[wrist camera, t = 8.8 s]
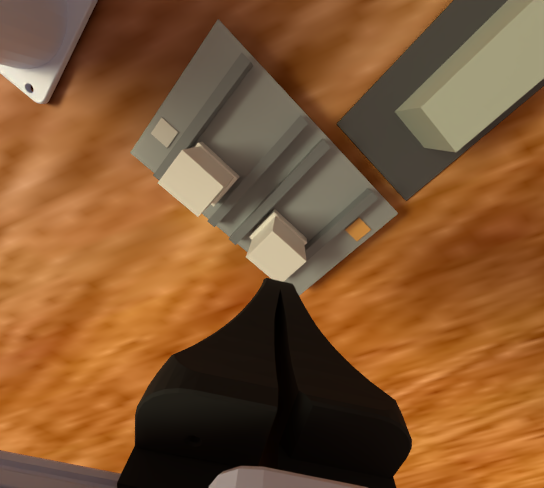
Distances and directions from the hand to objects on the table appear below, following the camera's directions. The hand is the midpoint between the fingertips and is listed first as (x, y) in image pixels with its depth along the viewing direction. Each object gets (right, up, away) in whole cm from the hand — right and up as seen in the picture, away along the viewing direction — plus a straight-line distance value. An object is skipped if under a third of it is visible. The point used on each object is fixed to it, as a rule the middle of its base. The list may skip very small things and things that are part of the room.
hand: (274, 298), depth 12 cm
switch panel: (0, +7, +6) cm, 9 cm away
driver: (+13, +14, +2) cm, 19 cm away
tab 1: (-4, +7, +5) cm, 9 cm away
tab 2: (0, +3, +6) cm, 7 cm away
